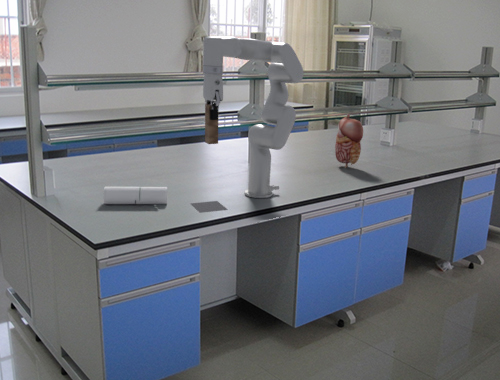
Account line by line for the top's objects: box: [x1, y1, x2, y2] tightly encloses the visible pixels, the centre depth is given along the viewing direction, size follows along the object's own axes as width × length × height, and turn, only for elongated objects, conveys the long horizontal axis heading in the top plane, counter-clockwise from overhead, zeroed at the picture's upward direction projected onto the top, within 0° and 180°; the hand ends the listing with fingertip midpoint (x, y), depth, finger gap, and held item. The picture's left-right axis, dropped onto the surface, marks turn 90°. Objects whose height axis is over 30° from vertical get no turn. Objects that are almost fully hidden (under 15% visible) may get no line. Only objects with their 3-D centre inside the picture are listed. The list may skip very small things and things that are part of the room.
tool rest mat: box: [189, 200, 228, 213], centre depth 214 cm, size 12×12×1 cm
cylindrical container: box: [103, 186, 168, 205], centre depth 214 cm, size 7×7×25 cm
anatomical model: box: [334, 113, 364, 168], centre depth 288 cm, size 12×16×30 cm
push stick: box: [204, 103, 220, 145], centre depth 203 cm, size 4×4×15 cm
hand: (211, 118), depth 203 cm, fingers closed on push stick, 4 cm apart
